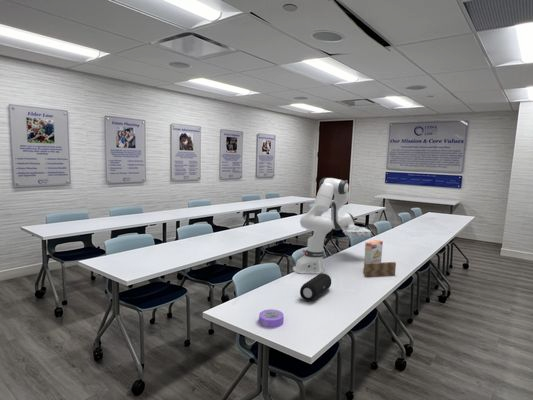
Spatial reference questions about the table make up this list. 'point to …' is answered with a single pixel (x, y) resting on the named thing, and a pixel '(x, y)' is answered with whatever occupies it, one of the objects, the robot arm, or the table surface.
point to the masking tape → (271, 318)
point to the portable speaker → (315, 287)
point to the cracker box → (373, 252)
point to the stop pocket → (379, 269)
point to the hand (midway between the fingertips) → (362, 234)
